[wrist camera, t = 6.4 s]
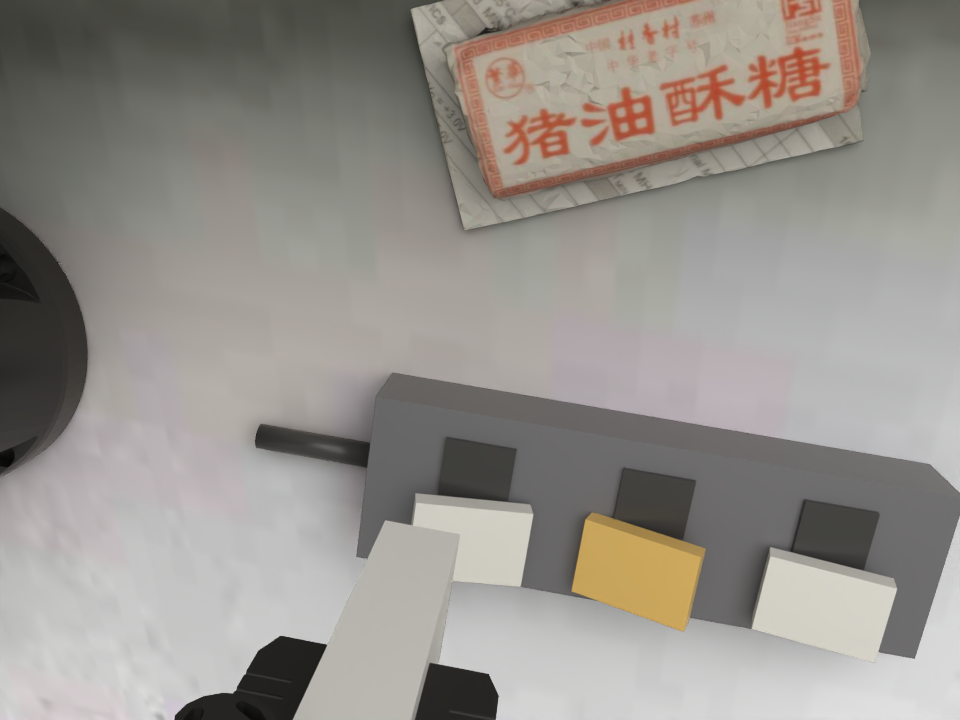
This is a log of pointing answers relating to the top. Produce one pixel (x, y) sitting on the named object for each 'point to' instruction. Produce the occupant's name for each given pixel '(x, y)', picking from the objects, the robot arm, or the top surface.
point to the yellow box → (638, 570)
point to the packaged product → (631, 93)
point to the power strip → (651, 491)
